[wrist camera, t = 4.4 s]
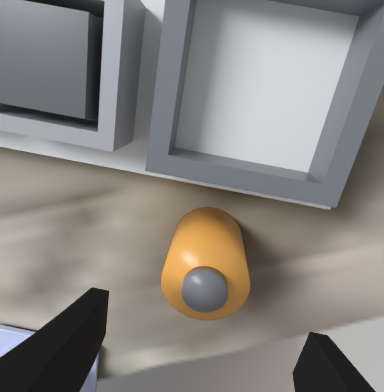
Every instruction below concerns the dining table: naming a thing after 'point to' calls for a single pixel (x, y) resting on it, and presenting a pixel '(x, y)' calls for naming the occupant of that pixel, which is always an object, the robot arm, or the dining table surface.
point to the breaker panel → (224, 94)
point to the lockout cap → (206, 266)
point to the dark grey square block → (50, 58)
